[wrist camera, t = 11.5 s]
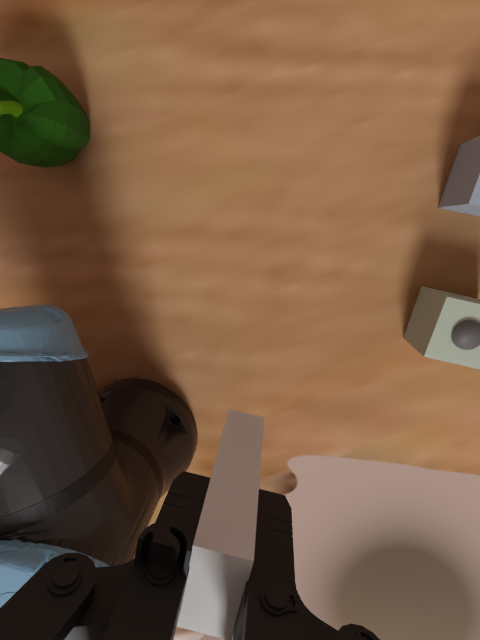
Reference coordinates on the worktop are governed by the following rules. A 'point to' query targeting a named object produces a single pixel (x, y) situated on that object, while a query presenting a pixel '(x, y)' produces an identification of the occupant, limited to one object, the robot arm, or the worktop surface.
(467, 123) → the worktop surface
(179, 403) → the robot arm
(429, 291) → the sage block
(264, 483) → the worktop surface
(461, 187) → the slate blue block
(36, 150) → the bell pepper
